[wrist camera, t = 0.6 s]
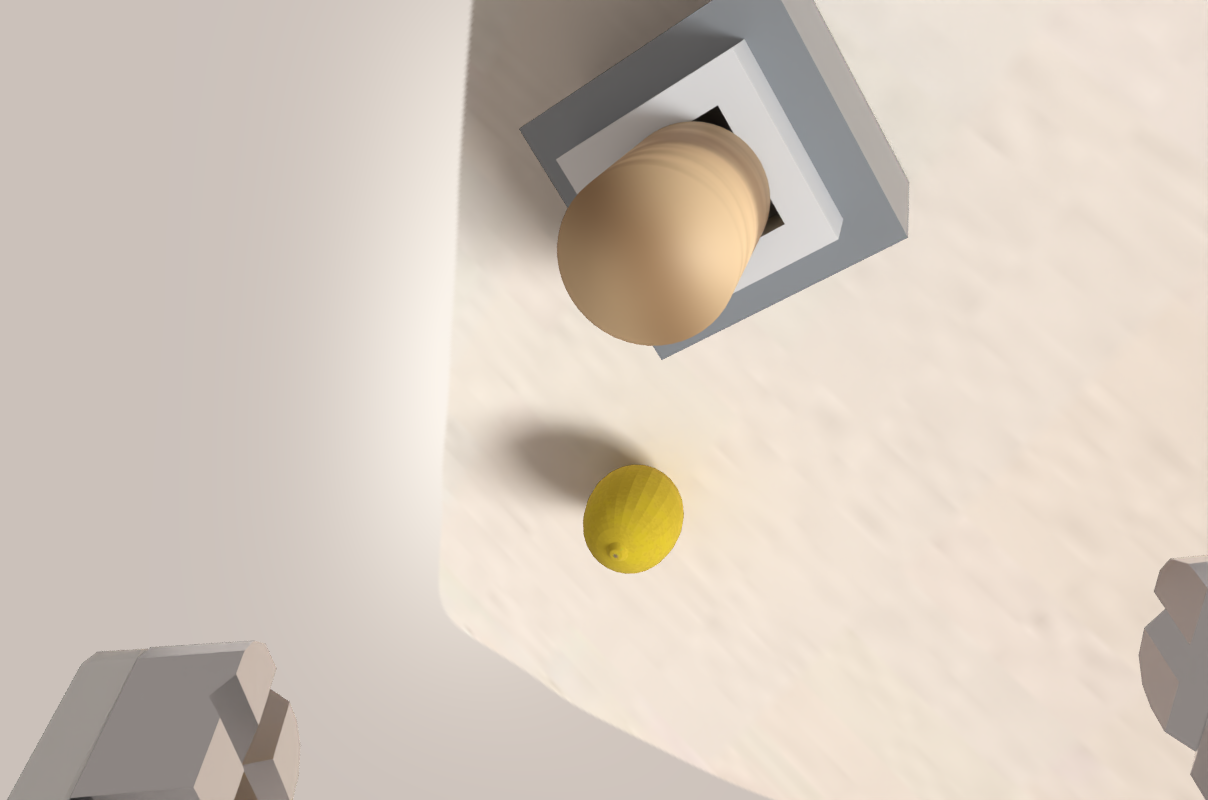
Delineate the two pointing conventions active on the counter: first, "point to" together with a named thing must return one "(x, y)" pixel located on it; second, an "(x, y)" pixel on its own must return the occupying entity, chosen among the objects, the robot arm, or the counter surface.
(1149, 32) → the counter surface
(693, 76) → the grey box with opening
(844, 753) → the counter surface
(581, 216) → the stopper
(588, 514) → the lemon
